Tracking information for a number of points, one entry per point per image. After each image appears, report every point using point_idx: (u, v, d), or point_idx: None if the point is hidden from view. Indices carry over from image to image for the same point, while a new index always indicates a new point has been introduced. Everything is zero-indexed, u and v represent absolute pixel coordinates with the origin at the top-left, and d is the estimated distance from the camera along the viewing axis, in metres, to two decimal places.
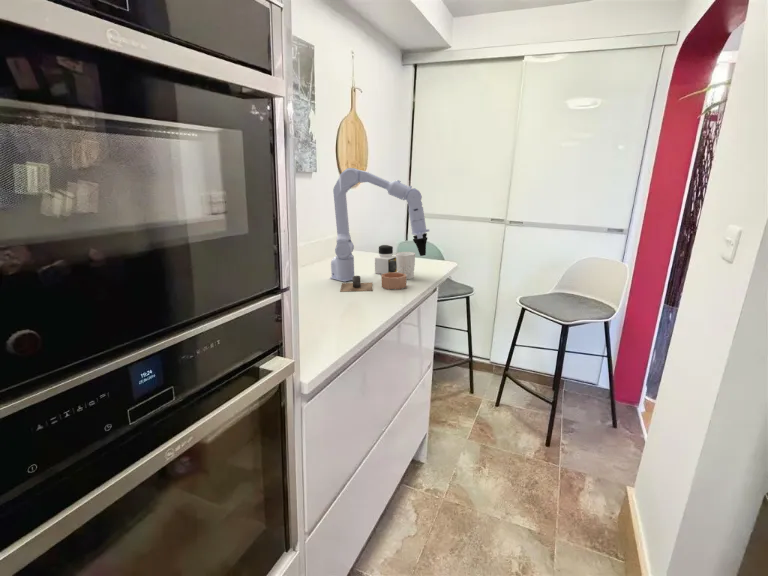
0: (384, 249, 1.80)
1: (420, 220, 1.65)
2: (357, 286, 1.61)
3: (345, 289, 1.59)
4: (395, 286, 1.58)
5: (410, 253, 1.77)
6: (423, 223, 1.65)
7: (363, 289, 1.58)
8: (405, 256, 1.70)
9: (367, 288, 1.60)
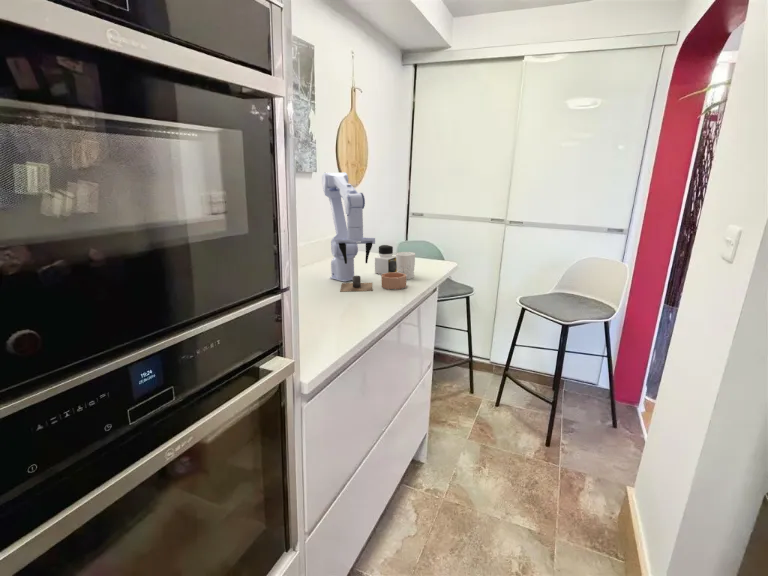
0: (384, 249, 1.80)
1: (348, 227, 1.55)
2: (357, 286, 1.61)
3: (345, 289, 1.59)
4: (395, 286, 1.58)
5: (410, 253, 1.77)
6: (350, 231, 1.55)
7: (363, 289, 1.58)
8: (405, 256, 1.70)
9: (367, 288, 1.60)
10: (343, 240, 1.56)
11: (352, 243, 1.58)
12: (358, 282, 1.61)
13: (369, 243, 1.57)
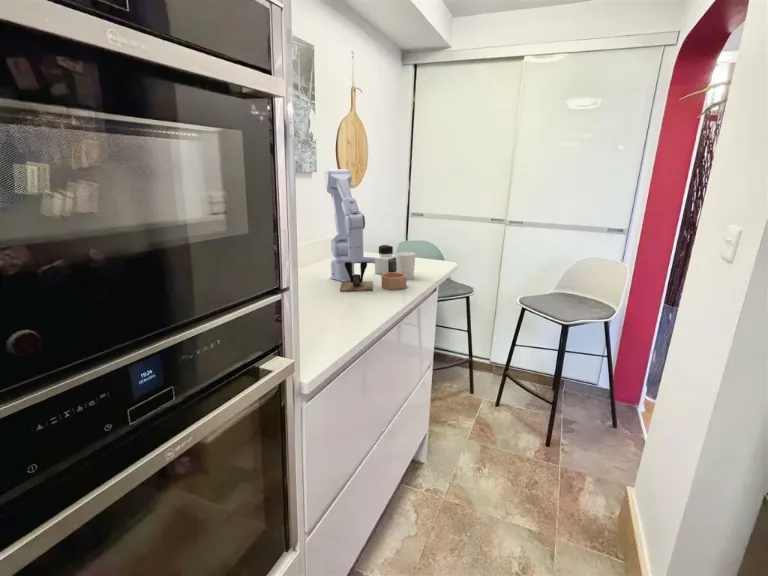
0: (384, 249, 1.80)
1: (348, 247, 1.57)
2: (357, 285, 1.61)
3: (345, 288, 1.59)
4: (395, 286, 1.58)
5: (410, 253, 1.77)
6: (350, 251, 1.57)
7: (363, 288, 1.58)
8: (405, 256, 1.70)
9: (367, 287, 1.60)
10: (344, 260, 1.58)
11: (352, 263, 1.60)
12: (358, 281, 1.61)
13: None
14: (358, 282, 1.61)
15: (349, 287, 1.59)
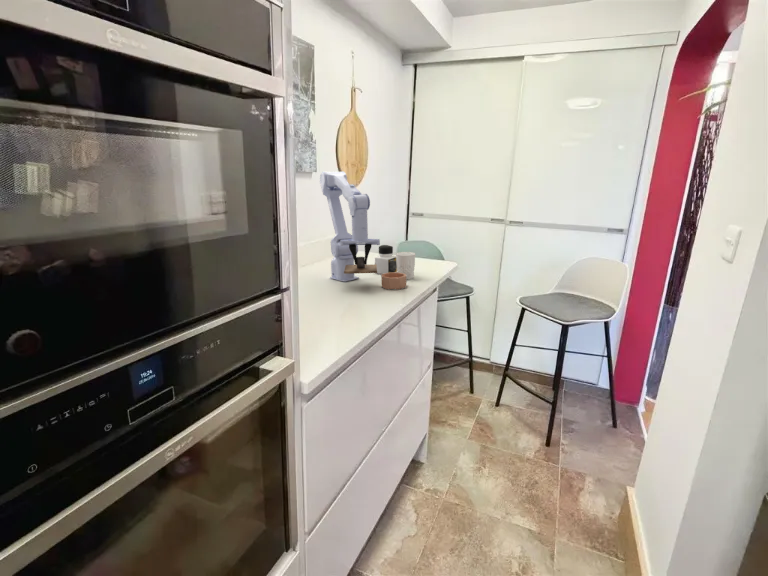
0: (384, 249, 1.80)
1: (352, 228, 1.55)
2: (361, 267, 1.59)
3: (349, 270, 1.57)
4: (395, 286, 1.58)
5: (410, 253, 1.77)
6: (354, 232, 1.55)
7: (367, 270, 1.56)
8: (405, 256, 1.70)
9: (371, 269, 1.58)
10: (348, 241, 1.56)
11: (357, 244, 1.58)
12: (362, 263, 1.59)
13: (374, 244, 1.58)
14: (362, 264, 1.59)
15: (353, 269, 1.58)
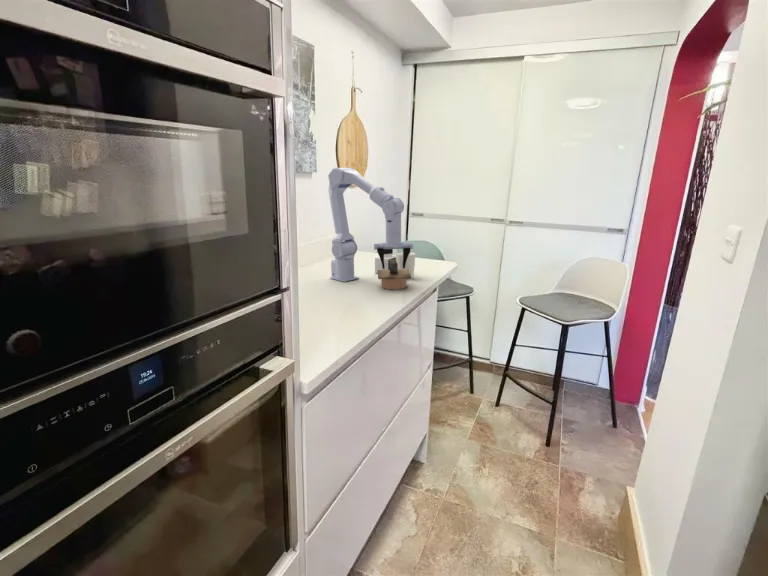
0: (384, 249, 1.80)
1: (386, 232, 1.56)
2: (394, 272, 1.60)
3: (383, 275, 1.58)
4: (395, 286, 1.58)
5: (410, 253, 1.77)
6: (388, 236, 1.56)
7: (401, 275, 1.57)
8: None
9: (405, 274, 1.59)
10: (381, 245, 1.57)
11: (390, 248, 1.59)
12: (395, 268, 1.60)
13: (407, 248, 1.58)
14: (395, 270, 1.60)
15: (387, 275, 1.59)
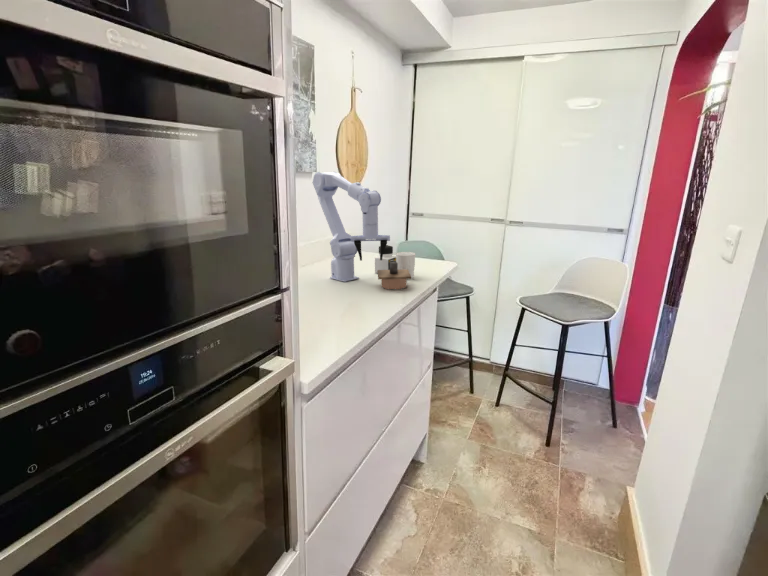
0: (384, 249, 1.80)
1: (363, 224, 1.58)
2: (394, 272, 1.60)
3: (383, 275, 1.58)
4: (395, 286, 1.58)
5: (410, 253, 1.77)
6: (365, 228, 1.57)
7: (401, 275, 1.57)
8: (405, 256, 1.70)
9: (405, 274, 1.59)
10: (358, 237, 1.59)
11: (367, 240, 1.60)
12: (395, 268, 1.60)
13: (384, 240, 1.60)
14: (395, 270, 1.60)
15: (387, 275, 1.59)
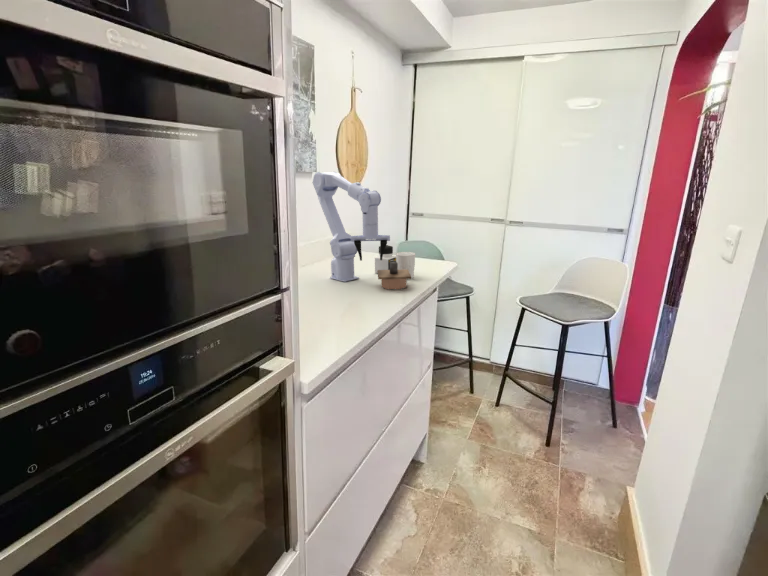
0: (384, 249, 1.80)
1: (363, 224, 1.58)
2: (394, 272, 1.60)
3: (383, 275, 1.58)
4: (395, 286, 1.58)
5: (410, 253, 1.77)
6: (365, 228, 1.57)
7: (401, 275, 1.57)
8: (405, 256, 1.70)
9: (405, 274, 1.59)
10: (358, 237, 1.59)
11: (367, 240, 1.60)
12: (395, 268, 1.60)
13: (384, 240, 1.60)
14: (395, 270, 1.60)
15: (387, 275, 1.59)
